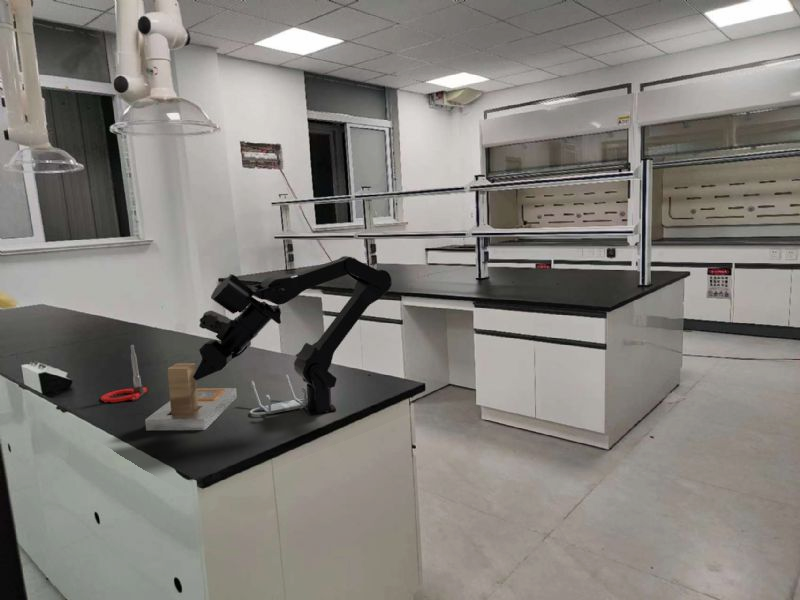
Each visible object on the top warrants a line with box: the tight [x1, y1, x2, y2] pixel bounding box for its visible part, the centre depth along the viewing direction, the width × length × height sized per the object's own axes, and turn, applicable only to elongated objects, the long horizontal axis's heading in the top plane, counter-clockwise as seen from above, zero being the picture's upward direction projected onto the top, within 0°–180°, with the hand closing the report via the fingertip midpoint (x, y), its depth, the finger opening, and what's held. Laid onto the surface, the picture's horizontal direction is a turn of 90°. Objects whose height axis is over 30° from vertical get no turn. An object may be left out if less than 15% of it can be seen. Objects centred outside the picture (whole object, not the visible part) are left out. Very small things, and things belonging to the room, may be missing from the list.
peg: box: [167, 362, 198, 415], centre depth 125 cm, size 4×4×13 cm
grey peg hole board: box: [144, 387, 238, 431], centre depth 131 cm, size 22×13×3 cm, turn 179°
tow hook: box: [100, 344, 148, 403], centre depth 143 cm, size 9×14×10 cm
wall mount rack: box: [249, 374, 308, 416], centre depth 134 cm, size 16×14×6 cm
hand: (202, 372), depth 124 cm, fingers open, 9 cm apart
